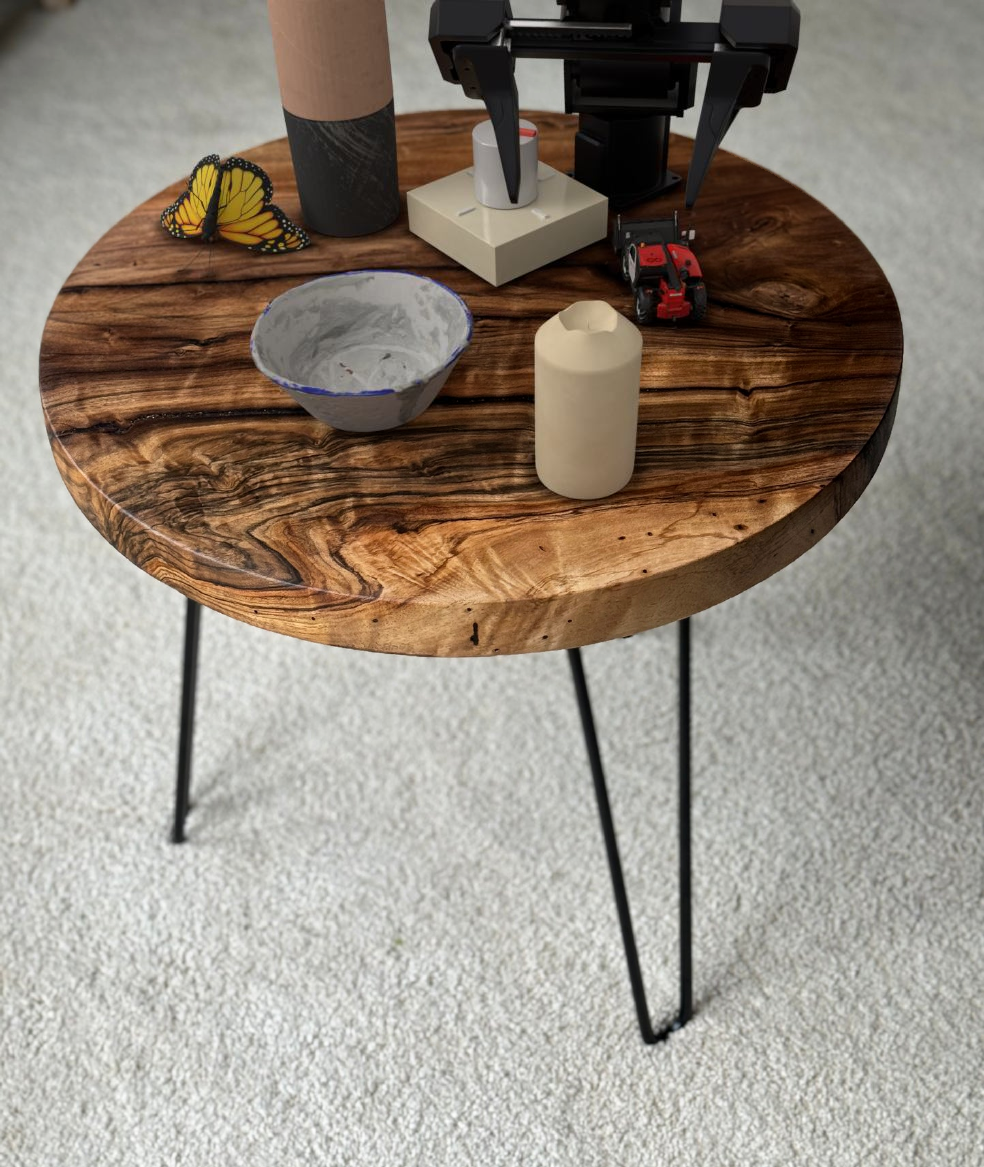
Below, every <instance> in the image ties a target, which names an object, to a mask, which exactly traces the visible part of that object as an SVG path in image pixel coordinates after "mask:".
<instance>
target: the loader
mask: <svg viewBox="0 0 984 1167" xmlns="http://www.w3.org/2000/svg"><path fill="white" fill-rule="evenodd" d="M613 231H614V232H613V237H612V238H611V239H610V242H611V244H612V248H613V253H614V255H615V256H616V255H621V256H620V268H621V269H620V270H621V276H622V279H623V281H624V282H628V283H629V286H630V289H631V291H632V294H633V297H634V314H635V319H636V322H637V323H638V324H639V325H647V324H650V323H652V320H653V314H654V309H655V308H656V310H657V314H656V318H660V319H671V320H672V321H673V322H677V319H679V318H684V317H687V316H688V317H689V319H690V320H692V321H698V320H703V319H704V318H705V316H706V313H707V301H708V300H707V296H708V295H707V289H706V286H705V283H704V282H702V281H701V279H702V278H703V274H702V271H701V268H700V265H699V263H698V262H699V261H698V259H697V258H696V256H695V255H694V253H693V251H691V250H690V246H689V243H690V242H691V240H695V235H696V230H695V229H693V226H692V223H689V224H688V230H681V233H680V220H679V217H678V210H674V211H673V215H670V216H669V215H668V216H667V217H664V216H658V217H657V216H654V217H644V218H637V219H636V218H630V219H625V221H623V219H621V214H618V215H616V220H614V222H613ZM680 236H681V237H683V236H685V237H683V238H681V239H680ZM685 240H687V241H685ZM685 295H686V296H685ZM654 301H657V302H654Z"/></svg>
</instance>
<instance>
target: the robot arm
mask: <svg viewBox="0 0 984 1167" xmlns="http://www.w3.org/2000/svg"><path fill="white" fill-rule="evenodd" d="M555 3H556V6H560V13H559V18H539V17H537V18H535V17H534V18H533V17H514V15H513V14H514V13H513V10H512V5H511V0H434V1H433V3H432V4H431V7H430V8H429V22H428V34H427V42H428V44H429V46H430V49H431V51H432V54H433V57H434V59H435V62H436V65H437V67H438V69H439V73H440V75H441V78H442V80H443V81H445V82H446V83H449V84H452V85H457V86H460V85H461V88H462V91H463V94H464V96H465V97H466V98H468V99H470V100H476V101H478V100H479V101H482V102H483V104H484V105H485V109H486V112H487V114H488V117H489V120H491V122H492V125H493V128H494V132H495V137H496V142H497V146H498V151H499V155H500V160H501V164H502V169H503V173H504V178H505V182H506V187H507V191H508V196H509V200H510V203H511V204H518V200H519V192H520V184H521V163H520V129H519V119H520V101H519V100H520V98H519V96H520V95H519V89H518V86H517V81H516V77H515V73H516V62H517V59H536V60H537V59H538V60H563V96H564V97H563V100H564V115H573V114H578V126H577V127H578V129H577V131H575V133H574V152H573V153H574V156H573V158H574V159H573V169H572V170H570V171H568V172H565V173H564V174H565V175H567V176H569V177H571V178H572V179H574V180H576V181H578V182H580V183H582V184H583V185H585V186H587V187H589V188H591V189H593V190H595V191H596V192H598V193H600V194H602V195H604V196H606V197H607V198H608V208H610V209H612V210H614V211H617V212H622V211H623V212H624V211H626V210H628V209H630V208H632V207H634V206H638V205H639V204H641V203H644V202H646V201H648V200H651V199H653V198H655V197H657V196H659V195H662V194H664V193H666V192H669V191H670V190H673V189H675V188H678V187H680V186H681V185H682V180H683V178H682V176H680V175H678V174H677V173H675V172H673V171H670V170H668V164H669V163H668V161H669V146H670V134H671V122H672V121H671V120H672V117H675V118H678V119H684V116H685V111H687V110H689V109H691V108H694V107H695V102H696V90H697V81H698V80H697V79H698V72H699V71H698V70H699V64H709V69H708V75H707V80H706V81H707V82H706V85H705V90H704V94H703V100H702V105H701V110H700V115H699V119H698V124H697V129H696V134H695V138H694V142H693V148H692V151H691V152H692V153H691V157H690V162H689V167H688V172H687V176H686V177H687V178H686V186H685V200H684V211H685V212H692V211H693V209H694V207H695V205H696V202H697V201H698V197H699V195H700V192H701V191H702V187H703V185H704V183H705V180H706V178H707V175H708V173H709V171H710V168H711V165H712V164H713V161H714V159H715V156H716V154H717V152H718V149H719V147H720V145H721V143H722V141H723V140H724V138H725V136H726V135H727V133H728V131H729V130H730V128H731V126H732V125H733V123H734V121H735V119H736V118H737V116H738V115H739V113H740V111H741V110H742V109H753V108H757V107H759V106H760V105H761V104H762V100H763V97H764V95H765V94H767V95H769V94H771V95H772V94H773V95H775V94H778V93H782V92H784V91H786V90H787V88H788V85H789V82H790V78H791V75H792V71H793V68H794V65H795V62H796V58H797V55H798V52H799V46H800V45H799V44H800V34H801V33H800V32H801V20H802V19H801V18H802V17H801V16H802V15H801V10H800V8H799V7H798V6H797V4H796V2H794V0H721V6H720V12H719V13H720V14H719V20H718V22H715V21H711V22H710V21H682V10H683V8H682V7H683V0H555Z"/></svg>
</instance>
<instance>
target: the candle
mask: <svg viewBox="0 0 984 1167" xmlns="http://www.w3.org/2000/svg"><path fill="white" fill-rule="evenodd" d="M643 342H644V341H643V336H642V333H641V331H640V330H639V328H637V326H636V325H635V324H634V323H633V322H632V321H630V320H629V319H628V318H627V317H625V316H624V315H623V314H621V313H620V312H619V311H617V310H616V309H614V307H613V306H611V305H610V304H609V303H608V302H606V301H604V300H579V301H576V302H574V303H572V304H571V305H570V306H568V307H567V308H565V309H564V310H561V311H558V313H557V314H555V315H553V316H552V317H550V319H548V320H546V322H544V323H543V324H542V325H541V326H540V327H538V329H537V331H536V334H535V336H534V438H535V439H534V447H535V448H534V451H535V452H534V453H535V470H536V474H537V476H538V478H539V480H540V482H541V483H542V484H543V485H544V486H545V487H546V488H547V489H549V490H550V491H552V492H553V493H556V494H558V495H560V496H563V497H566V498H570V499H576V500H596V499H601V498H605V497H609V496H611V495H613V494H615V493H618V492H619V491H620V490H622V489H623V488H624V487H625V486H627V485H628V483H629V482H630V481H631V478H632V476H633V472H634V468H635V458H636V445H637V430H638V417H639V416H638V415H639V403H640V402H639V401H640V400H639V399H640V388H641V386H640V385H641V370H642V358H643V345H644V344H643Z"/></svg>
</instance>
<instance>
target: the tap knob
mask: <svg viewBox="0 0 984 1167" xmlns="http://www.w3.org/2000/svg"><path fill="white" fill-rule="evenodd" d="M519 129H520V163H521V184H520V192H519V200H518V204H511V203H510V200H509V196H508V191H507V187H506V182H505V178H504V173H503V169H502V164H501V160H500V155H499V151H498V146H497V142H496V137H495V132H494V128H493V125H492V122H491V120H490V119H486V120H484V121H482V122H479V123H478V124H476V125H475V127H474V128H472V132H471V139H472V140H471V141H472V142H471V143H472V162H473V163H472V166H474V189H475V197H476V199H477V200H478V201H479V202H480V203H481V204H483V205H485V206H487V207H491V208H496V209H514V208H520V207H523V206H526V205H528V204H530V203H532V202H533V201H534V200H535V199H536V198H537V196H538V160H539V130H538V128H537V126H536V125H535V124H534V123H532V122H531V121H529V120H526V119H524V118H519Z"/></svg>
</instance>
